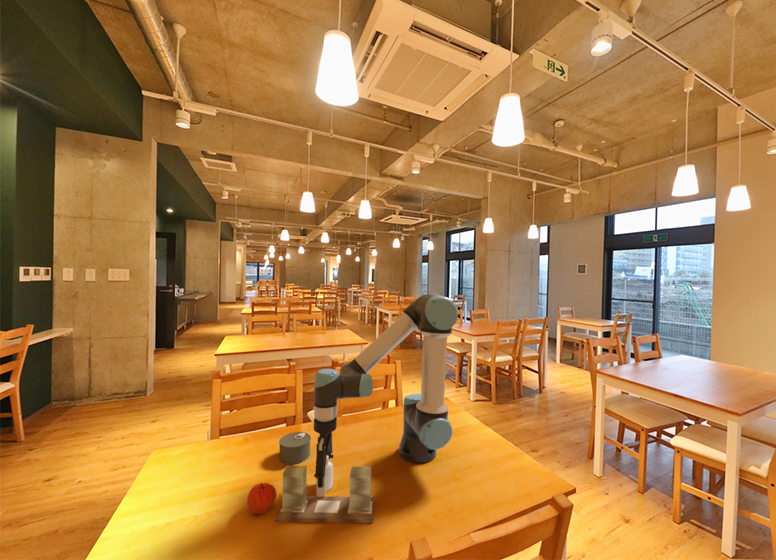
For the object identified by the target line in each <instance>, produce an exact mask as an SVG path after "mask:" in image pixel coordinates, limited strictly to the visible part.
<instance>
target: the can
mask: <svg viewBox="0 0 776 560" xmlns="http://www.w3.org/2000/svg"><path fill="white" fill-rule="evenodd" d="M311 439H312V436H311V435H310V434H309V433H307V432H303V431H295V432H290V433H287V434H285V435H283V436H281V437H280V439H279V441H278V442H279V462H280V463H282V465H286V466H296V465H298V464H301V463H304V462H305V460H306V459H307V460H309V458H310V457H311ZM309 456H310V457H309ZM308 457H309V458H308ZM307 460H306V461H307ZM303 461H304V462H303Z"/></svg>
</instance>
